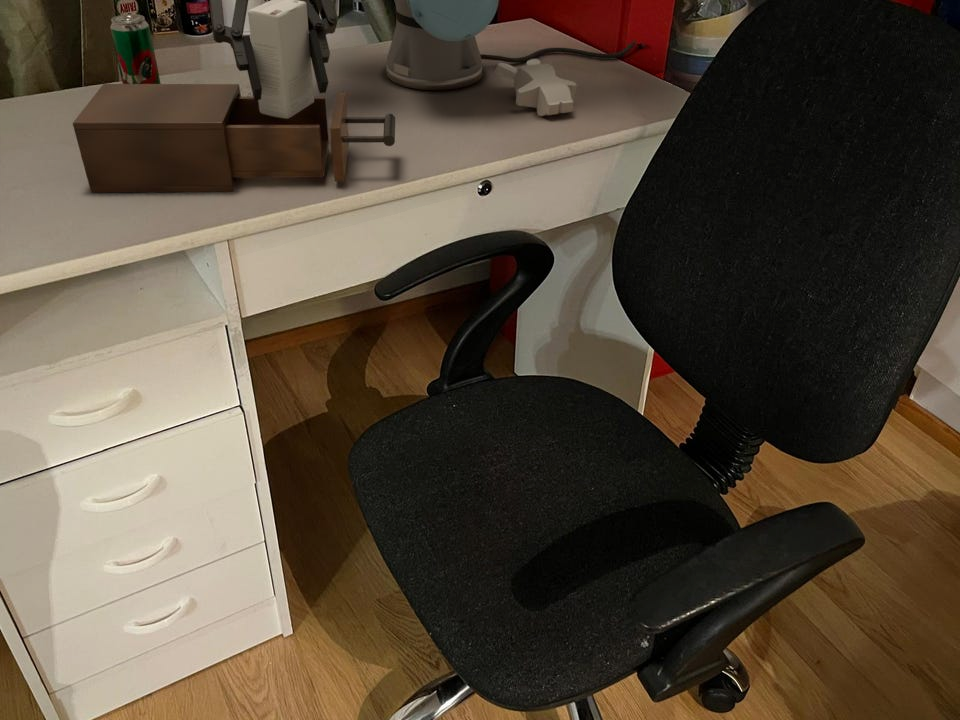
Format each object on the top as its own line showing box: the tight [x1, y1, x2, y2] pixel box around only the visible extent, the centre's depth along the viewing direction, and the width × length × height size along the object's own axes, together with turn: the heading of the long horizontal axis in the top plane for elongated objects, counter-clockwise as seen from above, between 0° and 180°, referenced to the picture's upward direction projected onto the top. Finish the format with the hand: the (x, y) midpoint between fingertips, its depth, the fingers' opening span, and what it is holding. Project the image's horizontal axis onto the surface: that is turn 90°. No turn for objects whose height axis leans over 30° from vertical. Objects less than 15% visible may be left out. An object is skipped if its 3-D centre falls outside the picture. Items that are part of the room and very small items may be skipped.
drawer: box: [224, 92, 396, 183], centre depth 106 cm, size 22×11×7 cm, turn 94°
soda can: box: [109, 13, 162, 84], centre depth 121 cm, size 5×5×12 cm
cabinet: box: [72, 83, 242, 193], centre depth 105 cm, size 17×13×9 cm
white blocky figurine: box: [494, 58, 578, 117], centre depth 128 cm, size 10×5×15 cm
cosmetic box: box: [247, 0, 315, 119], centre depth 101 cm, size 6×4×12 cm
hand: (291, 90), depth 99 cm, fingers closed on cosmetic box, 7 cm apart
